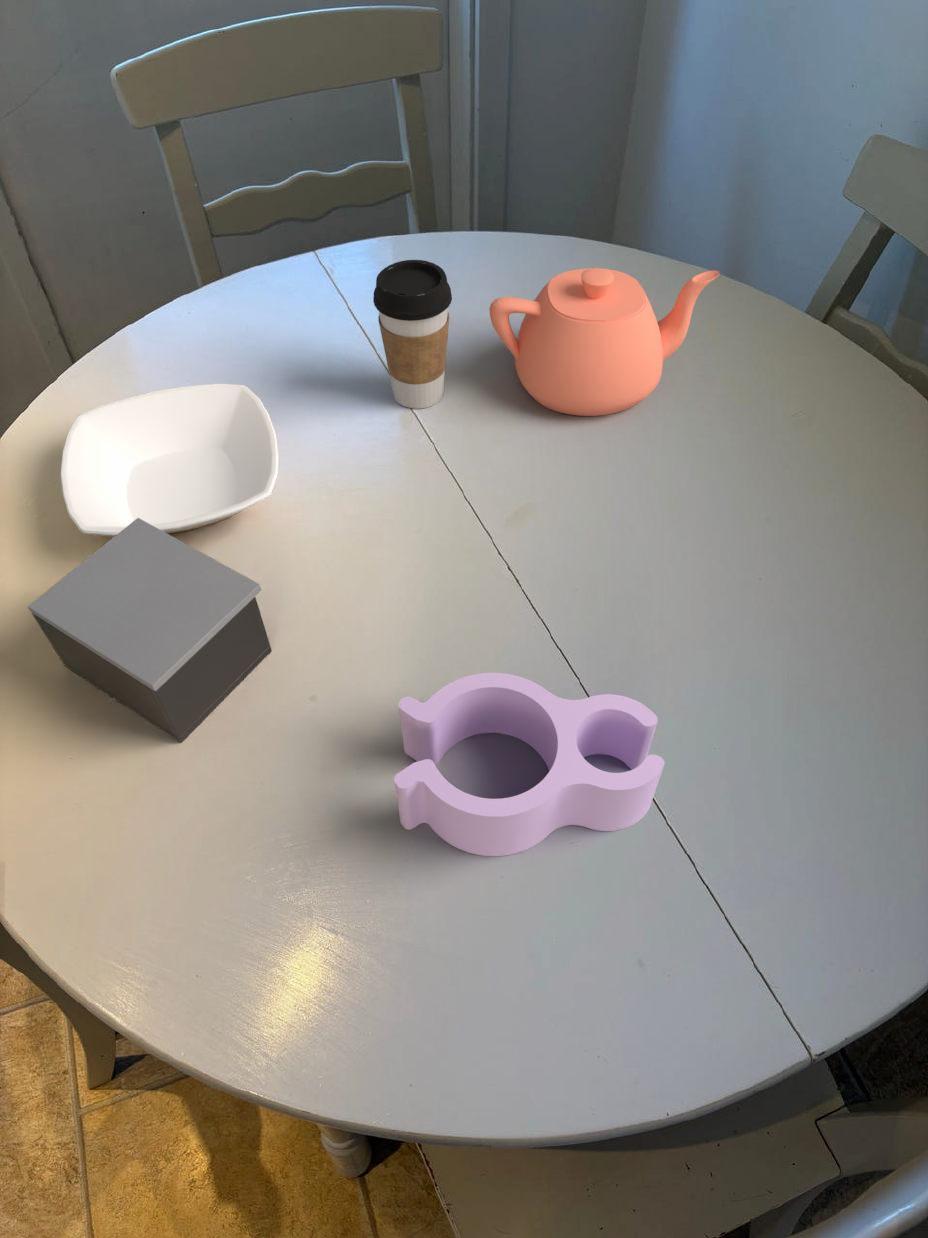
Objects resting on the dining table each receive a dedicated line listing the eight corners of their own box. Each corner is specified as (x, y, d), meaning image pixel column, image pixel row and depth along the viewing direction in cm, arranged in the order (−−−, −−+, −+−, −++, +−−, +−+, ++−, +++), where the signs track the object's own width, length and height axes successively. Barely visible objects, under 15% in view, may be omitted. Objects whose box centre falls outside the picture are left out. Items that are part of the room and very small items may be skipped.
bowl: (300, 539, 90) (292, 502, 86) (80, 586, 86) (60, 549, 82) (269, 409, 103) (260, 371, 99) (75, 445, 99) (58, 407, 95)
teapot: (681, 332, 111) (702, 229, 101) (713, 418, 101) (741, 313, 90) (482, 341, 110) (483, 238, 100) (494, 429, 100) (497, 324, 89)
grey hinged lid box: (158, 584, 86) (134, 528, 80) (272, 651, 81) (255, 596, 75) (64, 666, 80) (31, 612, 74) (181, 743, 75) (155, 692, 69)
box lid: (140, 523, 81) (138, 517, 80) (261, 590, 75) (260, 584, 75) (30, 612, 74) (27, 606, 74) (155, 692, 69) (152, 686, 68)
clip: (638, 718, 76) (650, 672, 71) (657, 856, 69) (672, 816, 63) (405, 719, 76) (400, 673, 71) (398, 856, 69) (391, 816, 63)
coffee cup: (373, 410, 102) (360, 292, 91) (394, 366, 107) (384, 249, 96) (444, 420, 101) (439, 302, 89) (461, 376, 106) (460, 258, 94)
